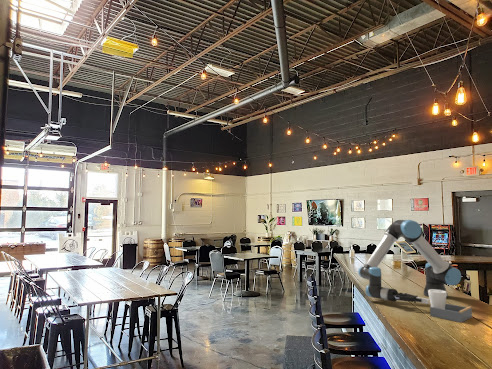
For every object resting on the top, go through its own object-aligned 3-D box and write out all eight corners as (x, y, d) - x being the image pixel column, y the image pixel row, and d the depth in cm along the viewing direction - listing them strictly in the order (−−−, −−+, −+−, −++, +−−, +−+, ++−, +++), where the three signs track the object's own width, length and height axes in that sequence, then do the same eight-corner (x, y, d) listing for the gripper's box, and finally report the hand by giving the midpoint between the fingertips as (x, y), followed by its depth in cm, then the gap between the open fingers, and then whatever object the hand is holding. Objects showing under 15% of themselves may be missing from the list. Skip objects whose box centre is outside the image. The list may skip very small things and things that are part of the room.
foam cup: (439, 316, 202) (438, 293, 203) (425, 312, 210) (424, 290, 211) (451, 315, 205) (450, 292, 206) (436, 311, 214) (436, 288, 215)
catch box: (441, 311, 214) (441, 301, 214) (471, 317, 202) (471, 306, 202) (430, 316, 203) (429, 305, 204) (461, 322, 191) (461, 311, 192)
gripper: (394, 299, 233) (432, 306, 215) (384, 302, 224) (423, 309, 206) (394, 287, 233) (432, 293, 216) (384, 289, 225) (422, 296, 207)
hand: (427, 301), depth 211 cm, fingers closed
